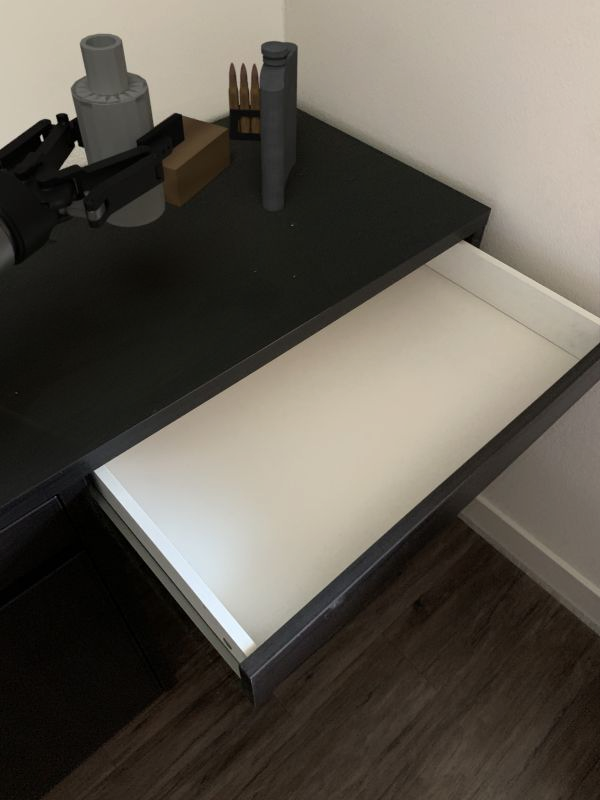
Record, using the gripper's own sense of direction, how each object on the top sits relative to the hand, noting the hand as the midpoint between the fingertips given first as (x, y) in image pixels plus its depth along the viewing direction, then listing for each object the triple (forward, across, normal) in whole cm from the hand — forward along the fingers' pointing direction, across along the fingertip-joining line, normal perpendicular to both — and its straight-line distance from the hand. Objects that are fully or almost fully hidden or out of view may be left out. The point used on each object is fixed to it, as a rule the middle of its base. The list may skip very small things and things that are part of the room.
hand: (149, 117), depth 69 cm
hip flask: (+28, -1, -22) cm, 36 cm away
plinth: (+22, -15, -22) cm, 35 cm away
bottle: (-5, 0, -8) cm, 9 cm away
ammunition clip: (+39, -10, -22) cm, 46 cm away
